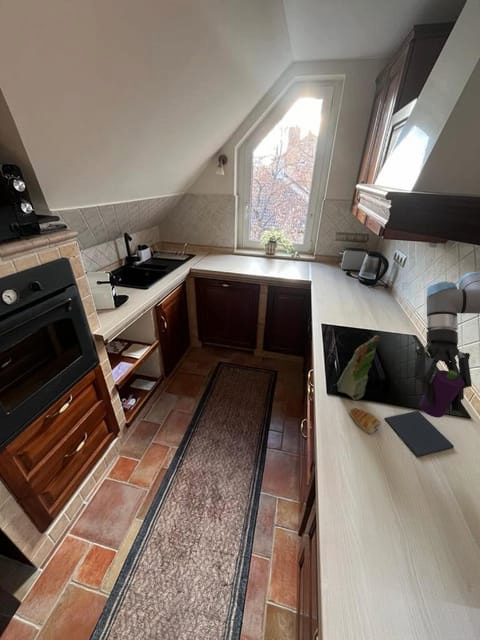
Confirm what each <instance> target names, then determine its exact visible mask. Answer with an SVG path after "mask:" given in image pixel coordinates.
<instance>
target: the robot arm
mask: <svg viewBox="0 0 480 640" xmlns="http://www.w3.org/2000/svg"><path fill="white" fill-rule="evenodd" d="M425 299H426V330H427V331H426V345H425V346H421V345H420V346H418V347H415V352H416V353H415V354H416V361H415V369H414V370H415V371H414V379H415V380H418V381H419V382H420V383H421V393H422V394H423V395H424V394H425V406H431V407H433V383H431V381H432V379H433V375H434V373H435V370H436V368H437V365H438V363H439V362H443V363H444V365H445V366H446V368H447V371H449V370H453V371H455V372H457V373H458V376H459V377H461V378H462V379H463V381H464V385H463V387H462V388H461V390H460V391H459V393H458V394H457V396H456V397H455V399H454V400H453V402H452V403H451V411H453V412H460V413H461V412H462V401H463V400H464V399H465V391H464V389H466V388H471V387H472V385H473V384H472V375H471V369H470V362H469V361H470V357H471V353H469V352H463V351H460V349H459V348H458V344H459V332H458V329H459V327H458V326H459V324H458V322H459V321H458V314H479V315H480V272H479V271H470V272H467V273H465V274H464V275H462V276H461V277H460V278H459V280H458V287H457V284H456V283H455V282H453V281H442V280H441V281H437V282H433V283H431V284H430V285H429V286H428V287H427V288H426V298H425ZM427 353H428V355H429V357H428V359H427V361H428V363H427V364H426V358H427V355H426V354H427ZM456 357H457V359H458V361H457V359H456ZM425 366H426V367H425Z"/></svg>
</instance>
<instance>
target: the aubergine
mask: <svg viewBox="0 0 480 640" xmlns="http://www.w3.org/2000/svg"><path fill="white" fill-rule="evenodd" d="M430 383H433V407H431V406H425V394H424V393H423V396H422V397H421V399H420V401H419V402H418V406H419V408H420V410H421V411H422V412H423V413H425V414H426V415H428V416H429V417H433V418H436V419H438V418H442V417H444V415H445V414H446V413H447V411H448V409H449V408H450V406H452V402H453V400H454V399H455V397H456V396H457V394H458V393H459V391H460V390H461V388H462V387H463V385H464V381H463V379H462V378H461V377H459V376H458V373H457V372H455V371H453V370H443V369H440V370H437V372H436V373H435V375H434V376H433V377H432V379H431V381H430Z"/></svg>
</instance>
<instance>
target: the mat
mask: <svg viewBox="0 0 480 640" xmlns="http://www.w3.org/2000/svg"><path fill="white" fill-rule="evenodd" d="M384 420H385V422H386V423H387V424H388V425H389V427H390V428H391V429H392V430H393V432H395V434H396V435H397V436H398V437H399V439H400V440H401V441H402V442H403V443H404V444H405V445H406V447H407V448H408V449H409V450H410V451H411V452H412V453H413V455H415V457H416V458H420V457H424V456H428V455H431V454H435V453H438V452H439V453H440V452H443V451H446V450H450V449H451V450H452V449H454V448H455V445H454V444H453V443H452V442H451V441H450V440H449V439H448V438H447V437H446V436H445V435H444V434H443V433H441V431H439V429H438V428H437V427H436V426H434V425H433V424H432V423H431V422H430V421H429V420H428V418H427V417H426V416H424V415H423V413H421V412H420V411H419V410H414V411H409V412H405V413H400V414H395V415H391V416H387V417H384Z"/></svg>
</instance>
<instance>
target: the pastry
mask: <svg viewBox="0 0 480 640" xmlns="http://www.w3.org/2000/svg"><path fill="white" fill-rule="evenodd" d="M350 416H351V418H352V419H353V421H354V422H355V424H356V425H357V426H358V427H359V428H360V429H362V430H363V431H364V432H365V433H367V434H369V435H371V434H373V433H374V432H375V431H376V430H378V429H379V428H380V427H381V421H380V419H378V418H377V417H376V416H375V415H373V414H372V413H371V412H368V411H365V410H363V409H361V408H357V407H355V408H351V409H350Z"/></svg>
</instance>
